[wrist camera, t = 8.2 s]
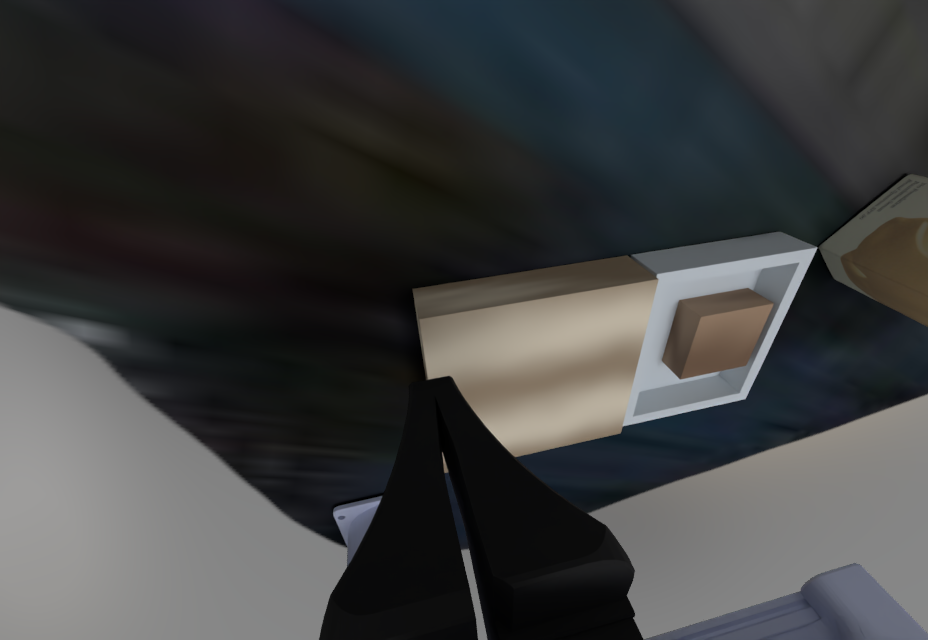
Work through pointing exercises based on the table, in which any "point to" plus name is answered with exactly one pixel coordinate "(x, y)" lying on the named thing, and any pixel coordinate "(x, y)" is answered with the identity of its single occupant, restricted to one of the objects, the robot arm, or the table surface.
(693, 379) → the box
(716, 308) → the walnut tile
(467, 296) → the plate
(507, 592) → the robot arm
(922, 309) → the skincare box
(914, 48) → the table surface
